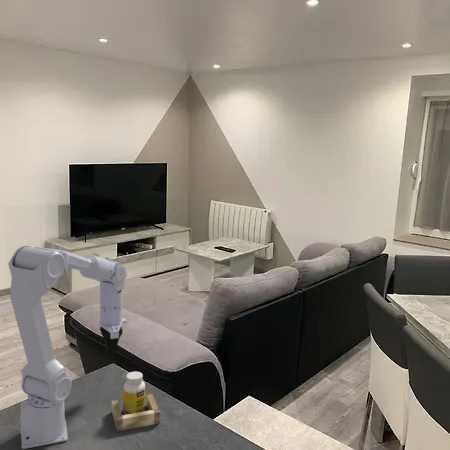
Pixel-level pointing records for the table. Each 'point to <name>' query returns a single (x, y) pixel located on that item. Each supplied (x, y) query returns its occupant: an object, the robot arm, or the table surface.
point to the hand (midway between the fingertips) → (111, 353)
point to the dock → (136, 416)
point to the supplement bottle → (134, 393)
